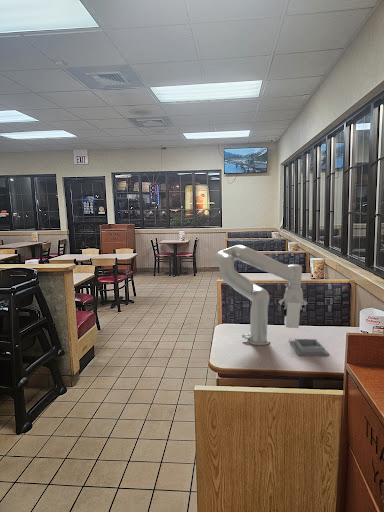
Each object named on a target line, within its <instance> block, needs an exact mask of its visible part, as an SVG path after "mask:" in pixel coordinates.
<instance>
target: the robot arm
mask: <svg viewBox="0 0 384 512" xmlns="http://www.w3.org/2000/svg"><path fill="white" fill-rule="evenodd" d="M235 261H239V262H241V263H245V264H247V265H249V266H251V267H253V268H256V269H258V270H261V271H263V272H267V273H269V274H272V275H274V276H276V277H278V278H281V279H283V280H285V281H287V282H286V283H285V284H284V286H285V287H286V288H285V291H284V294H283V298H282V299H280V300H278V304H279V305H280V307H282V310H283V312H282V314H283V316H284V317H285V316H286V314H287V309H286V308H287V305H288V302H298V301H299V302H300V316H302V311H303V309H304V308H305V307H306V305H308V302H307V301H306V300H305V299H304V292H303V288H302V276H303V274H302V273H303V266H302V265H300V264H297V263H295V264H293V263H291V264H285V263H283V262H280V261H279V260H276V259H274V258H272V257H270V256H268V255H266V254H264V253H262V252H259V251H258V250H255V249H254V248H250V247H248V246H246V245H242V244H236V245H233V246H231V247H228V248H226V249H222V250H220V251H218V252H216V253H215V254H214V255H213V263H214V265H215V266H217V267H218V268H219V275H220V278H221V280H222V281H223V282H224V283H225V284H227V285H229V286H230V288H232V289H233V290H234V291H236V292H238V293H239V294H240V295H242V296H244V298H246V299H248V300H250V301H251V306H250V315H249V316H250V319H249V320H250V322H249V323H250V328H249V329H250V331H249V332H248V333H246V334H245V333H242V334H241V338H243V339H245V340H247V341H246V342H247V343H249V344H250V345H253V346H267V345H269V344H270V341H271V340H270V338H269V337H268V314H269V313H268V312H269V311H268V310H269V302H270V294H269V292H268V291H267V290H266V289H265V288H264V287H262V286H260V285H258V284H257V283H255V282H254V281H252V280H251V279H249V278H248V277H246V276H245V275H242V274H241V273H239V271H237V270H236V269H235ZM294 296H295V298H294ZM293 298H294V299H293ZM296 299H297V300H298V301H297V300H296ZM290 300H291V301H290ZM283 303H284V304H283Z"/></svg>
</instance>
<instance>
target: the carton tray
mask: <svg viewBox="0 0 384 512" xmlns="http://www.w3.org/2000/svg"><path fill="white" fill-rule="evenodd" d="M289 345H290V346H291V348H292V349H293V351H295V353H296V354H297V356H298V357H300V356H301V357H303V356H305V357H306V356H307V357H309V356H310V357H311V356H312V357H313V356H330V353H329V352H328V350H327V349H326V348H325V347H324V345H322V343H321V342H320V341H319V340H318V339H317V338H296V339H295V338H294V341H293V342H290V344H289Z"/></svg>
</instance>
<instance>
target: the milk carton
mask: <svg viewBox="0 0 384 512" xmlns="http://www.w3.org/2000/svg"><path fill="white" fill-rule="evenodd" d="M294 298H295V296H294ZM294 298H293V299H294ZM296 300H297V299H296ZM290 301H291V300H290ZM297 301H298V300H297ZM286 309H287V314H286V316H285V315H284V326H285V328H289V329H291V328H292V329H299V328H300V317H301V315H300V302H299V301H298V302H288V305H287V308H286Z"/></svg>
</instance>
